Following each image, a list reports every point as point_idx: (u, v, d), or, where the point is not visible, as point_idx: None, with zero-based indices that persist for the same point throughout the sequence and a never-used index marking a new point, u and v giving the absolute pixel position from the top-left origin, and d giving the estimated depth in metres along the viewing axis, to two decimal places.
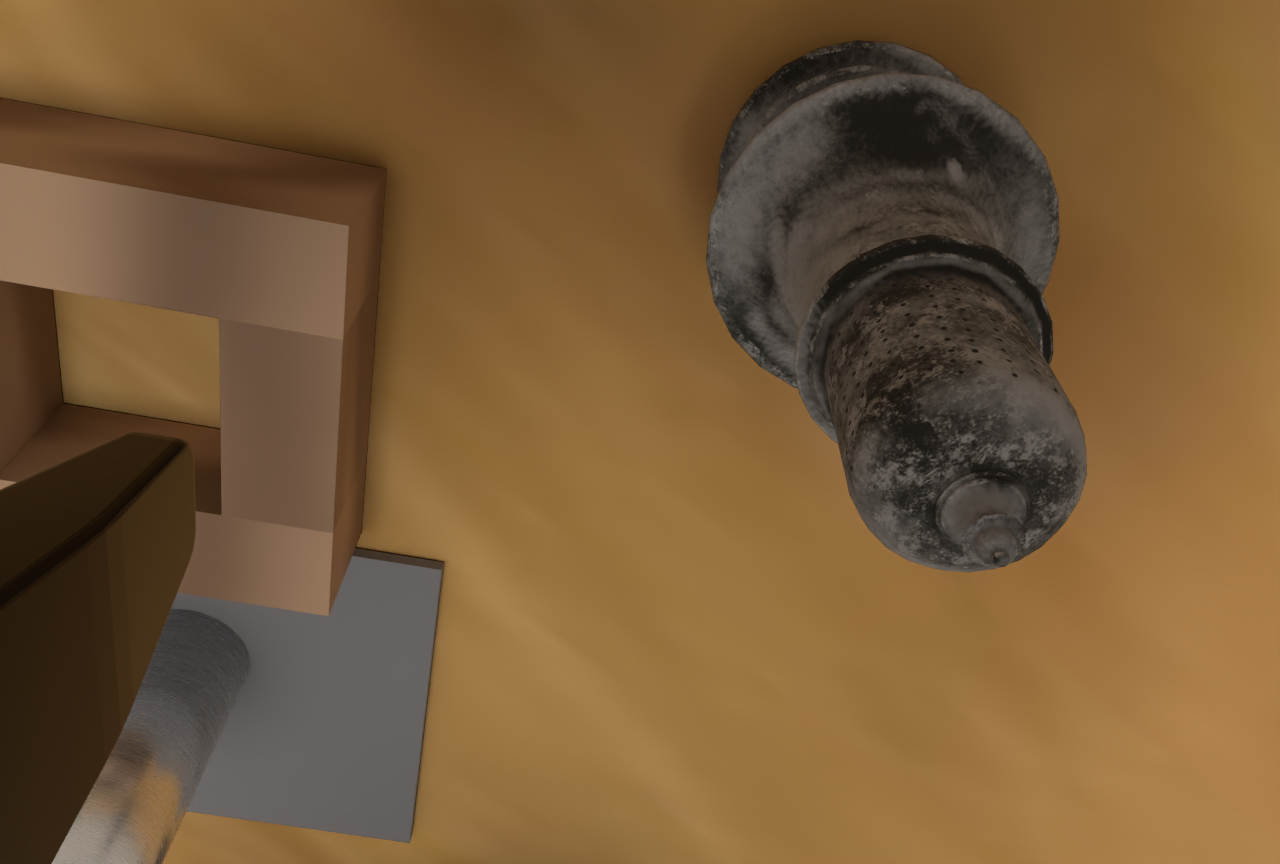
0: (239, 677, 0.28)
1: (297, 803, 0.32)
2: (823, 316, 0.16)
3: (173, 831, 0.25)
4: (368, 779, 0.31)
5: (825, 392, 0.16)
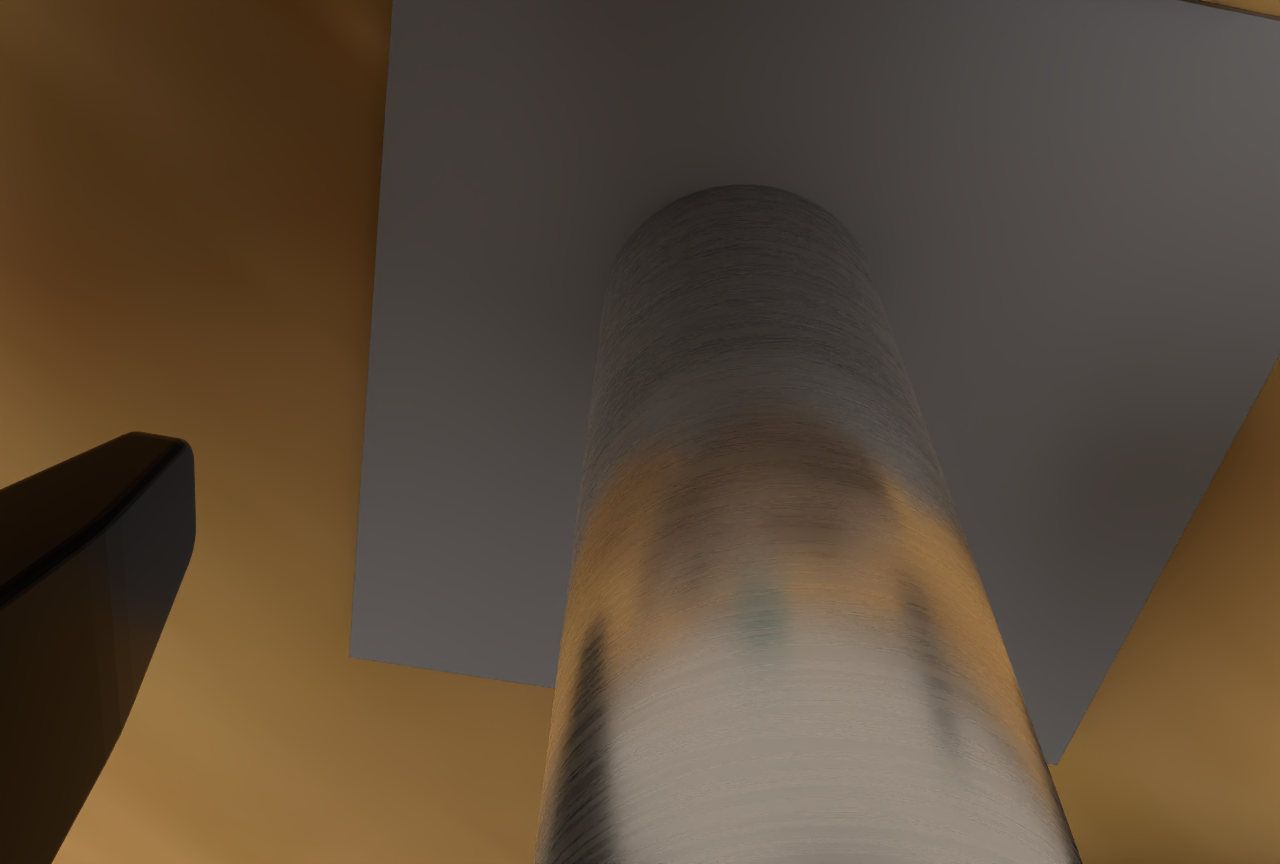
0: None
1: None
2: None
3: None
4: (1028, 625, 0.15)
5: None
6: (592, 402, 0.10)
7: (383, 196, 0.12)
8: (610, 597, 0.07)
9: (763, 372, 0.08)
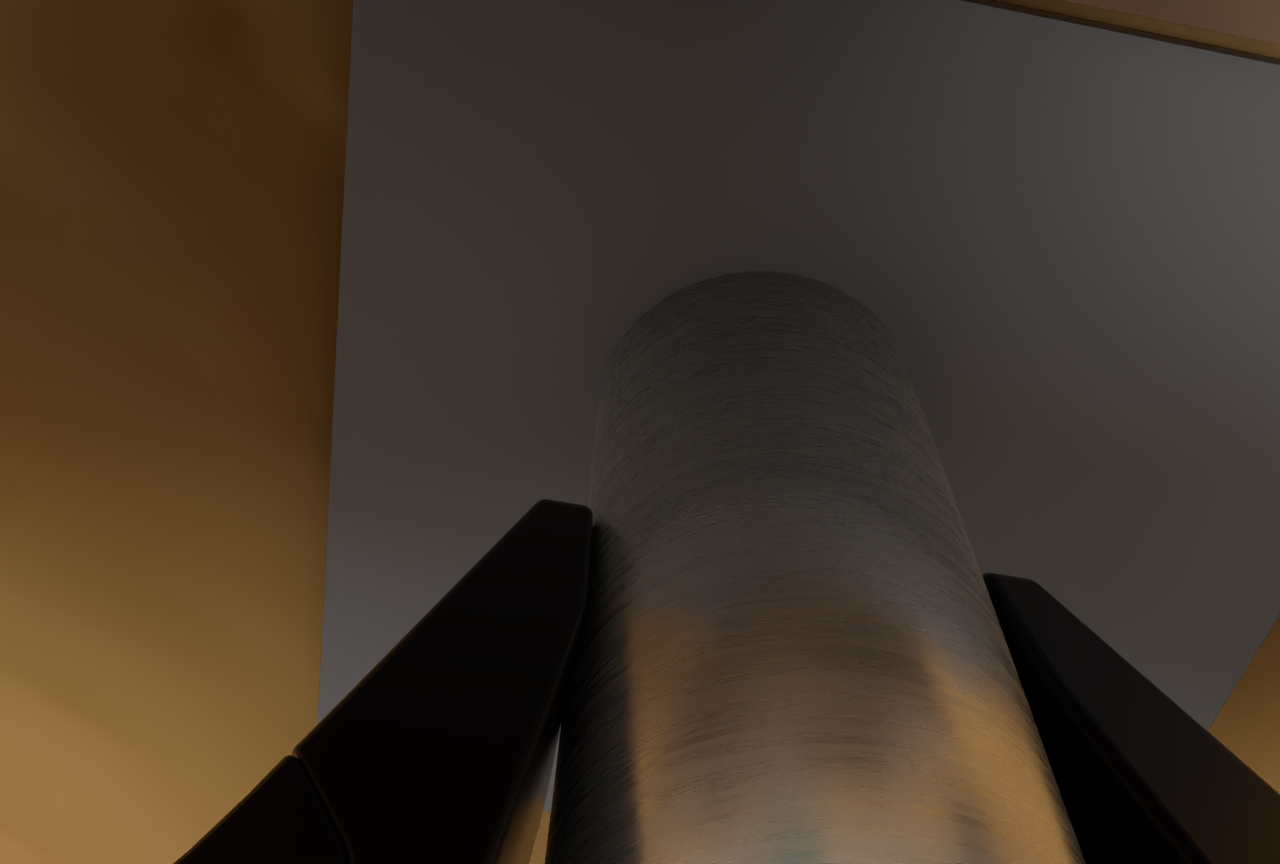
0: None
1: None
2: None
3: None
4: None
5: None
6: None
7: (343, 283, 0.10)
8: None
9: (795, 546, 0.07)
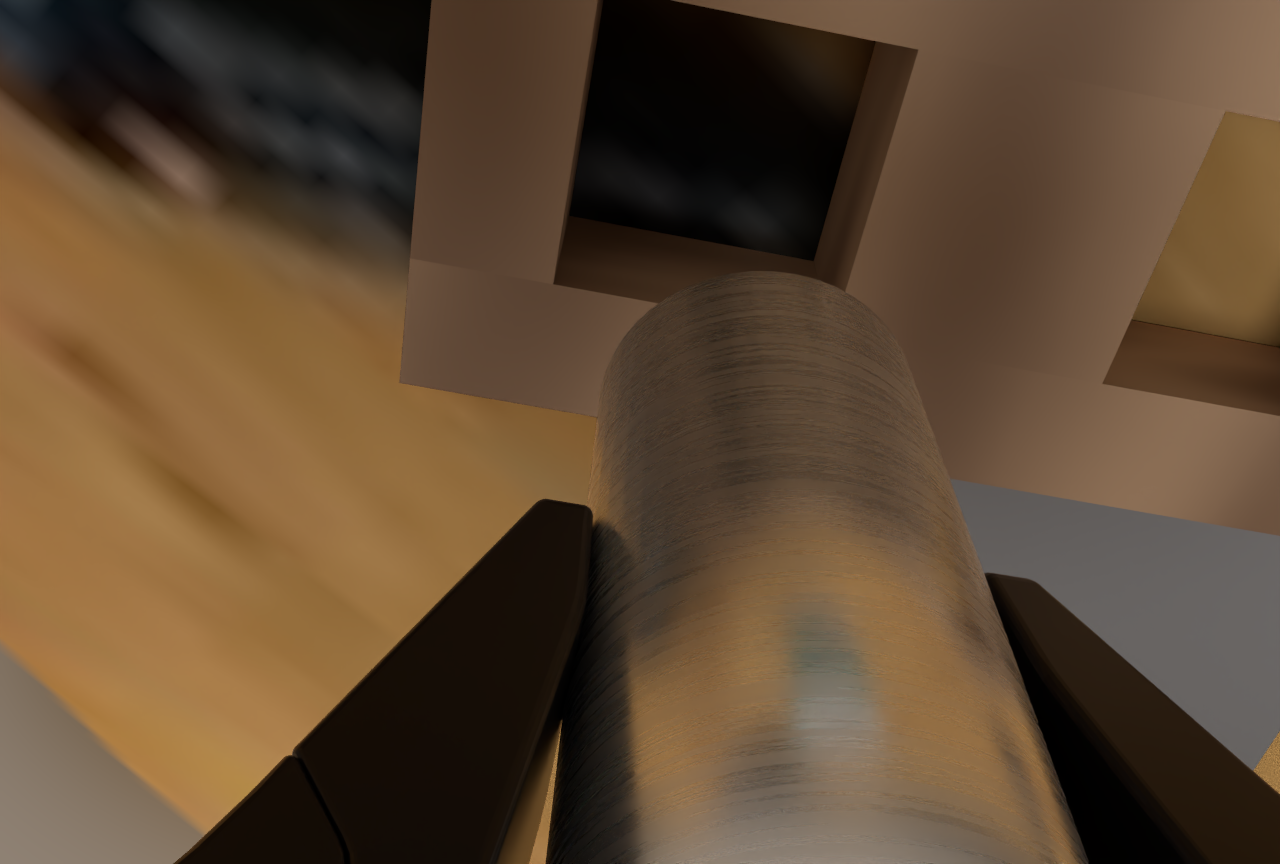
0: None
1: None
2: None
3: None
4: None
5: None
6: None
7: None
8: None
9: (797, 549, 0.07)
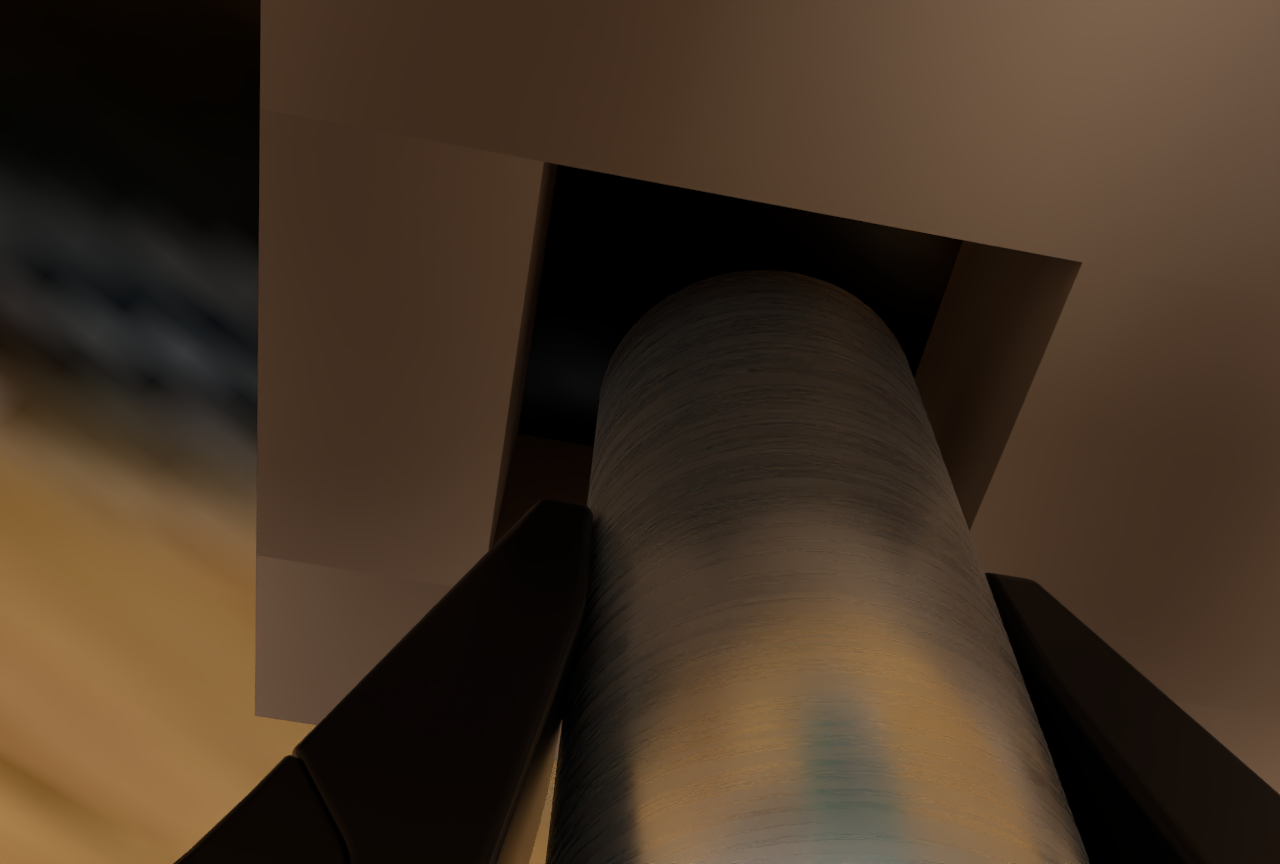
0: None
1: None
2: None
3: None
4: None
5: None
6: None
7: None
8: None
9: (797, 548, 0.07)
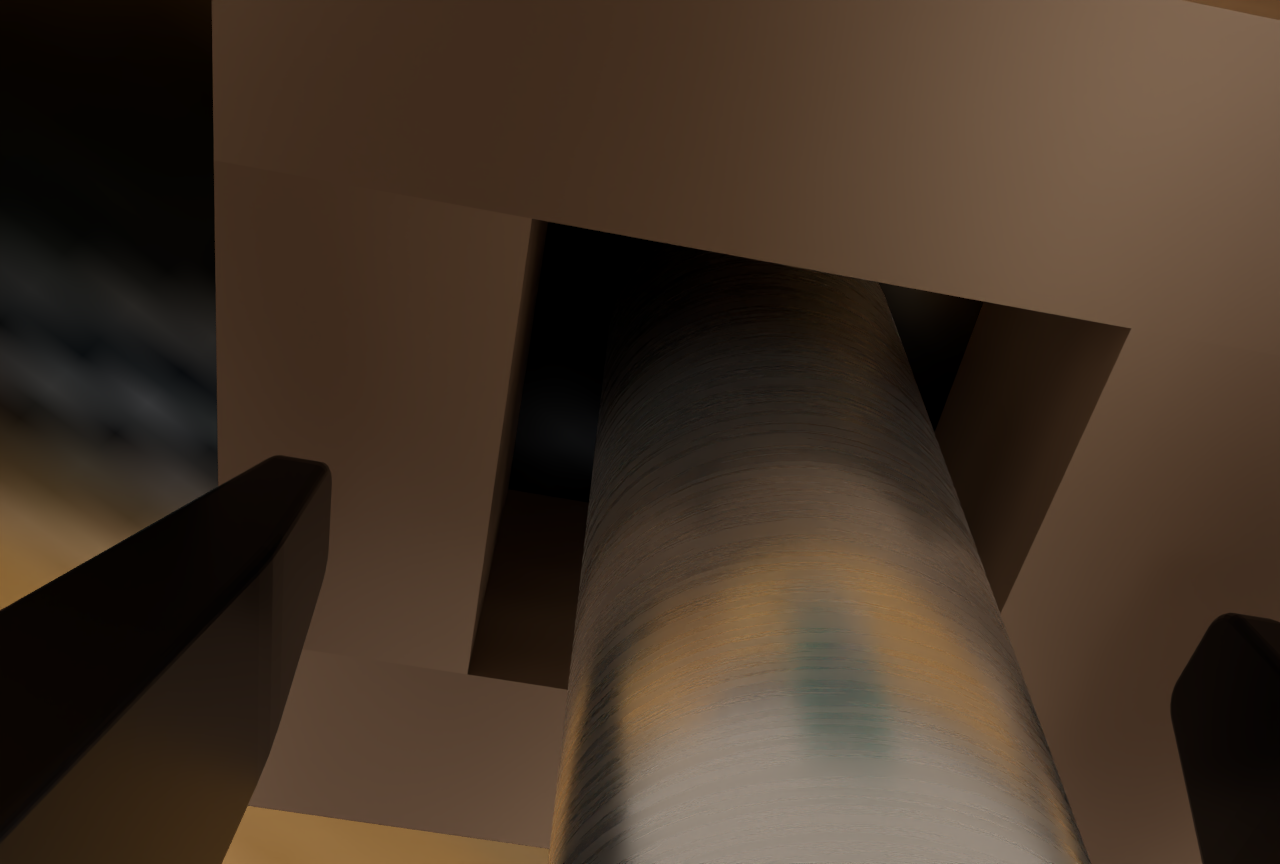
0: None
1: None
2: None
3: None
4: None
5: None
6: (596, 451, 0.10)
7: None
8: (616, 687, 0.06)
9: (781, 429, 0.08)
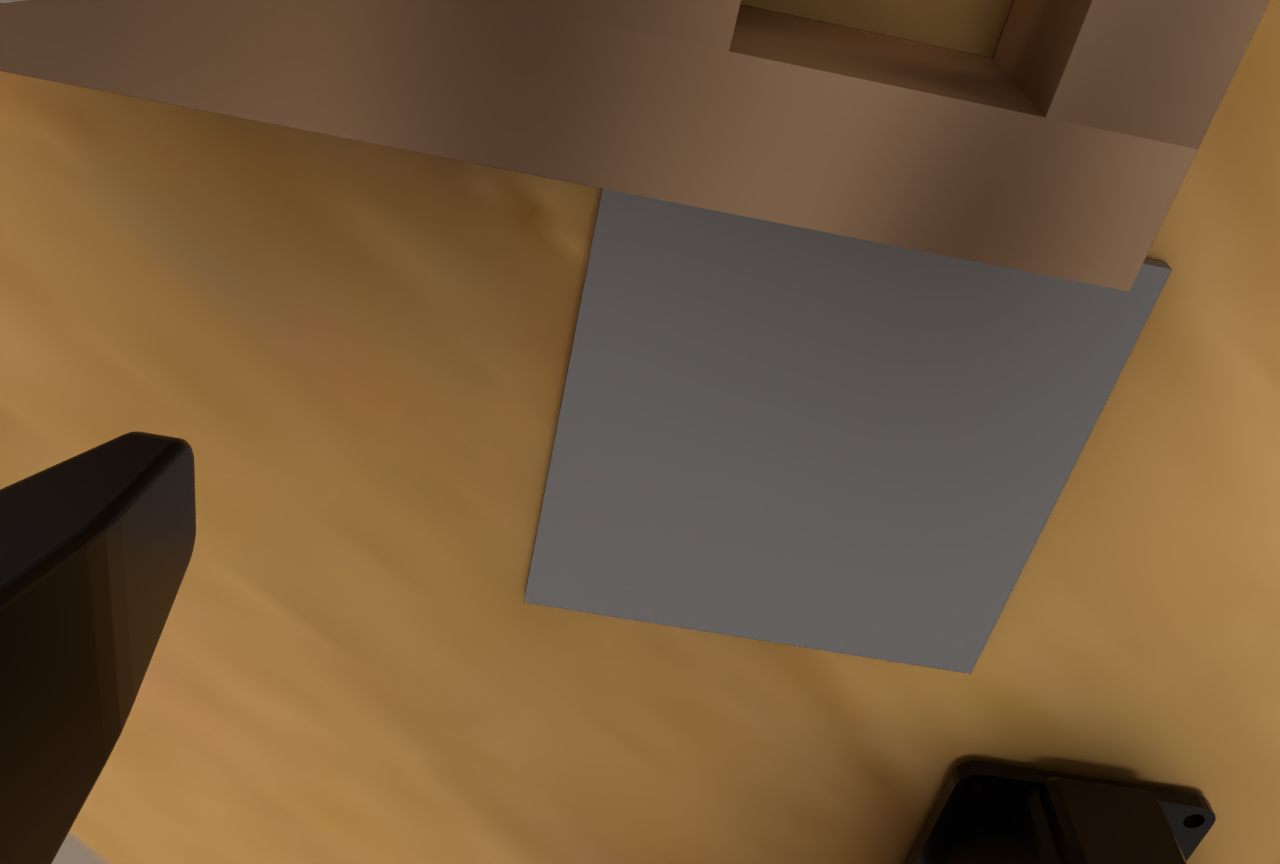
0: None
1: (845, 618, 0.25)
2: None
3: None
4: (951, 583, 0.24)
5: None
6: None
7: (577, 334, 0.21)
8: None
9: None
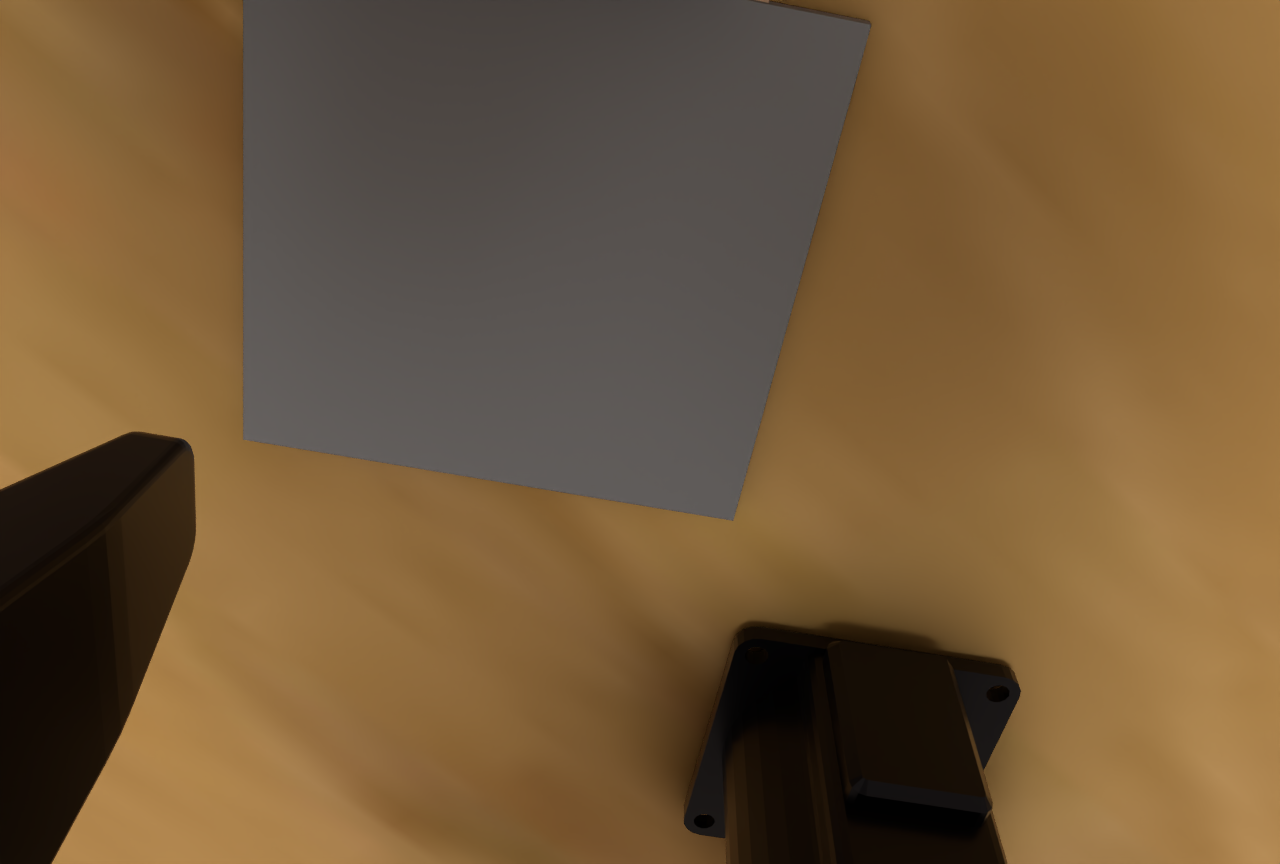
0: None
1: (587, 455, 0.23)
2: None
3: None
4: (694, 411, 0.22)
5: None
6: None
7: (245, 114, 0.19)
8: None
9: None
